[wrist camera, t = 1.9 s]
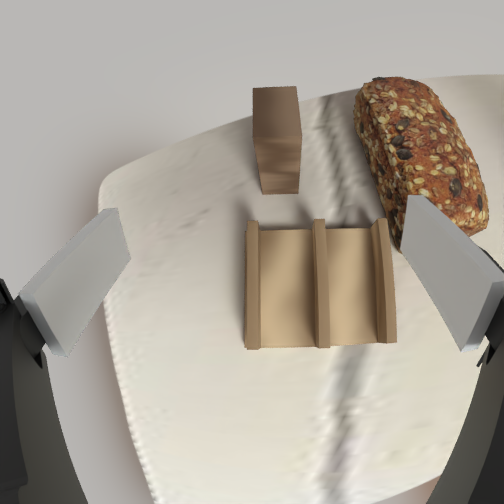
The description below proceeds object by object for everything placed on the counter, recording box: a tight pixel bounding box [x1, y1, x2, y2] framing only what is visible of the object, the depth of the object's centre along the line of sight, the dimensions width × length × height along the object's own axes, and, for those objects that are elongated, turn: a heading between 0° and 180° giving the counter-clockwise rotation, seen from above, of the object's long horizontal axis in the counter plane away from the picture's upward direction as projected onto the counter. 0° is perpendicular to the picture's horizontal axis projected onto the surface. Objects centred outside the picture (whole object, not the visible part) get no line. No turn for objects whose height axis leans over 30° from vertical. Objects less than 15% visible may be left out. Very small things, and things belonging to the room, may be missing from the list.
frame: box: [253, 86, 302, 195], centre depth 29 cm, size 4×6×11 cm
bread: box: [353, 77, 489, 254], centre depth 28 cm, size 19×11×10 cm, turn 9°
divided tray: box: [245, 218, 397, 350], centre depth 29 cm, size 15×12×4 cm
